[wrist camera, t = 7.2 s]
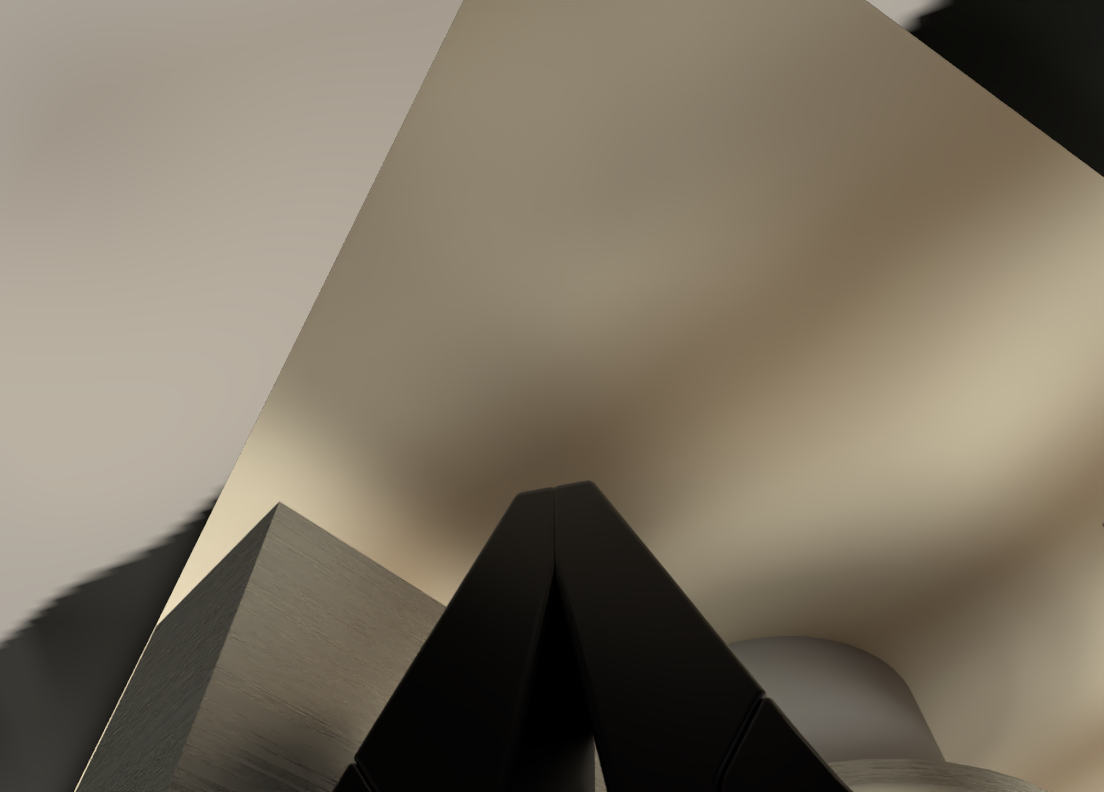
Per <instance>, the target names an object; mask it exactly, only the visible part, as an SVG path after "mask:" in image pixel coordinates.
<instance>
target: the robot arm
mask: <svg viewBox="0 0 1104 792" xmlns="http://www.w3.org/2000/svg"><path fill="white" fill-rule="evenodd" d="M595 745H596V749H597V753H598V758H599V762H600V766H601V770H602V774H603V778H604V782H605V786H606V790H607V792H853V791H852V790H851V789H850V788H849V787H848V786H847V785H846V784H845V783H844V782H843V781H842V780H841V778H840V777H839V776H838V775H837V774H836V773H835V772H834V770H833V769H832V768H831V767H830V766H829V765H828V764H827V762H826V761H825V760H824V759H823V758H822V757H821V756H820V755H819V753H818V752H817V751H816V750H815V749H814V748H813V747H812V745H811V744H810V743H809V742H808V741H807V740H806V739H805V737H804V736H803V735H802V734H801V733H800V732H799V731H798V729H797V728H796V727H795V726H794V725H793V723H792V722H791V721H790V720H789V718H788V717H787V716H786V715H785V714H784V712H783V711H782V710H781V709H780V707H779V706H778V705H777V704H776V703H775V701H774V700H773V699H772V698H770V697H767V694H766V691H765V690H764V689H763V687H762V686H761V685H760V684H759V683H758V681H757V680H756V679H755V678H754V676H753V675H752V674H751V673H750V672H749V670H748V669H747V668H746V667H745V665H744V664H743V663H742V662H741V661H740V659H739V658H738V657H737V656H736V654H735V653H734V652H733V651H732V650H731V648H730V647H729V646H728V645H727V643H726V642H725V641H724V640H723V639H722V637H721V636H720V635H719V634H718V632H717V631H716V630H715V629H714V628H713V626H712V625H711V624H710V623H709V622H708V620H707V619H706V618H705V617H704V615H703V614H702V613H701V612H700V611H699V609H698V608H697V607H696V606H695V604H694V603H693V602H692V601H691V600H690V598H689V597H688V596H687V595H686V593H685V592H684V591H683V590H682V589H681V587H680V586H679V585H678V584H677V582H676V581H675V580H674V579H673V578H672V576H671V575H670V574H669V573H668V571H667V570H666V569H665V568H664V567H663V565H662V564H661V563H660V562H659V560H658V559H657V558H656V557H655V556H654V554H653V553H652V552H651V551H650V550H649V548H648V547H647V546H646V545H645V543H644V542H643V541H642V540H641V539H640V537H639V536H638V535H637V534H636V532H635V531H634V530H633V529H632V528H631V526H630V525H629V524H628V523H627V521H626V520H625V519H624V518H623V517H622V515H621V514H620V513H619V512H618V510H617V509H616V508H615V507H614V506H613V504H612V503H611V502H610V501H609V499H608V498H607V497H606V496H605V495H604V493H603V492H602V491H601V490H600V488H599V487H598V486H597V485H596V484H595V483H594V482H593V481H590V480H585V481H579V482H574V483H568V484H563V485H558V486H556V487H555V488H554V487H546V488H540V489H535V490H529V491H524V492H520V493H518V494H517V495H516V496H515V497H514V498H513V500H512V502H511V503H510V505H509V506H508V508H507V510H506V511H505V513H504V514H503V516H502V518H501V519H500V521H499V522H498V524H497V526H496V527H495V529H494V531H493V532H492V534H491V535H490V537H489V539H488V540H487V542H486V543H485V545H484V547H483V548H482V550H481V552H480V553H479V555H478V556H477V558H476V560H475V561H474V563H473V564H472V566H471V568H470V569H469V571H468V573H467V574H466V576H465V577H464V579H463V581H462V582H461V584H460V585H459V587H458V589H457V590H456V592H455V594H454V595H453V597H452V598H451V600H450V602H449V603H448V605H447V606H446V608H445V610H444V611H443V613H442V615H441V616H440V618H439V619H438V621H437V623H436V624H435V626H434V627H433V629H432V631H431V632H430V634H429V636H428V637H427V639H426V640H425V642H424V644H423V645H422V647H421V648H420V650H419V652H418V653H417V655H416V657H415V658H414V660H413V661H412V663H411V665H410V666H409V668H408V669H407V671H406V673H405V674H404V676H403V678H402V679H401V681H400V682H399V684H398V686H397V687H396V689H395V690H394V692H393V694H392V695H391V697H390V699H389V700H388V702H387V703H386V705H385V707H384V708H383V710H382V711H381V713H380V715H379V716H378V718H377V719H376V721H375V723H374V724H373V726H372V728H371V729H370V731H369V732H368V734H367V736H366V737H365V739H364V740H363V742H362V744H361V745H360V747H359V749H358V750H357V752H356V753H355V755H354V761H355V763H356V764H355V763H350V764H349V765H348V766H347V767H346V769H345V770H344V772H343V774H342V775H341V777H340V779H339V780H338V782H337V783H336V785H335V787H334V788H333V790H332V791H331V792H595Z"/></svg>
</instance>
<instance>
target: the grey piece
mask: <svg viewBox="0 0 1104 792" xmlns="http://www.w3.org/2000/svg"><path fill="white" fill-rule="evenodd" d="M445 608H446V606H445V605H443V604H441V603H440V602H438V601H437V600H435V599H433V598H432V597H430V596H429V595H427V594H426V593H424V592H422V591H421V590H419V589H418V588H416V587H414V586H413V585H411V584H410V583H408V582H407V581H405V580H403V579H402V578H400V577H399V576H397V575H395V574H394V573H392V572H391V571H389V570H388V569H386V568H384V567H383V566H381V565H380V564H378V563H376V562H375V561H373V560H372V559H370V558H369V557H367V556H365V555H364V554H362V553H361V552H359V551H357V550H356V549H354V548H353V547H351V546H350V545H348V544H346V543H345V542H343V541H342V540H340V539H338V538H337V537H335V536H334V535H332V534H331V533H329V532H327V531H326V530H324V529H323V528H321V527H319V526H318V525H316V524H315V523H313V522H312V521H310V520H308V519H307V518H305V517H304V516H302V515H301V514H299V513H297V512H296V511H294V510H293V509H291V508H289V507H288V506H286V505H285V504H283V503H282V502H280V501H279V502H278V503H277V504H276V505H275V506H274V507H273V508H272V509H271V510H270V511H269V512H268V513H267V514H266V515H265V516H264V517H263V518H262V520H261V521H260V522H259V523H258V524H257V525H256V526H255V527H254V528H253V529H252V530H251V531H250V532H249V533H248V534H247V535H246V536H245V537H244V538H243V539H242V540H241V541H240V542H239V543H238V544H237V545H236V546H235V547H234V548H233V549H232V550H231V551H230V552H229V553H228V554H227V555H226V556H225V557H224V558H223V559H222V560H221V561H220V562H219V563H218V564H217V565H216V566H215V567H214V568H213V569H212V570H211V571H210V572H209V573H208V574H207V575H206V576H205V577H204V578H203V579H202V580H201V581H200V582H199V583H198V584H197V585H196V586H195V587H194V588H193V589H192V590H191V592H190V593H189V594H188V595H187V596H186V597H185V598H184V599H183V600H182V601H181V602H180V603H179V604H178V605H177V606H176V607H175V608H174V609H173V610H172V611H171V612H170V613H169V614H168V615H167V616H166V617H165V618H164V619H163V620H162V621H161V622H160V623H159V624H158V625H157V626H156V628H155V630H154V632H153V634H152V636H151V638H150V640H149V642H148V644H147V647H146V649H145V651H144V653H143V655H142V657H141V659H140V661H139V663H138V665H137V667H136V669H135V671H134V673H133V675H132V677H131V679H130V681H129V683H128V685H127V687H126V689H125V692H124V694H123V696H122V698H121V700H120V702H119V704H118V706H117V708H116V710H115V712H114V714H113V716H112V718H111V720H110V722H109V724H108V726H107V728H106V730H105V732H104V734H103V737H102V739H101V741H100V743H99V745H98V747H97V749H96V751H95V753H94V755H93V757H92V759H91V761H90V763H89V765H88V767H87V769H86V771H85V773H84V775H83V777H82V779H81V782H80V784H79V786H78V788H77V790H76V792H331V791H332V790H333V788H334V787H335V785H336V783H337V782H338V780H339V779H340V777H341V775H342V774H343V772H344V770H345V769H346V767H347V766H348V765H349V764H350V763H355V761H354V755H355V753H356V752H357V750H358V749H359V747H360V745H361V744H362V742H363V740H364V739H365V737H366V736H367V734H368V732H369V731H370V729H371V728H372V726H373V724H374V723H375V721H376V719H377V718H378V716H379V715H380V713H381V711H382V710H383V708H384V707H385V705H386V703H387V702H388V700H389V699H390V697H391V695H392V694H393V692H394V690H395V689H396V687H397V686H398V684H399V682H400V681H401V679H402V678H403V676H404V674H405V673H406V671H407V669H408V668H409V666H410V665H411V663H412V661H413V660H414V658H415V657H416V655H417V653H418V652H419V650H420V648H421V647H422V645H423V644H424V642H425V640H426V639H427V637H428V636H429V634H430V632H431V631H432V629H433V627H434V626H435V624H436V623H437V621H438V619H439V618H440V616H441V615H442V613H443V611H444V610H445ZM355 764H356V763H355ZM827 764H828V765H829V766H830V767H831V768H832V769H833V770H834V772H835V773H836V774H837V775H838V776H839V777H840V778H841V780H842V781H843V782H844V783H845V784H846V785H847V786H848V787H849V788H850V789H851V790H852V791H853V792H1049V791H1047V790H1045V789H1043V788H1040V787H1038V786H1036V785H1034V784H1032V783H1029V782H1027V781H1025V780H1022V779H1019V778H1016V777H1012V776H1009V775H1006V774H1003V773H999V772H996V771H993V770H989V769H984V768H978V767H973V766H967V765H962V764H957V763H951V762H939V761H928V760H916V759H861V760H850V761H838V762H827ZM595 792H607V790H606V786H605V782H604V778H603V774H602V770H601V766H600V762H599V758H598V753H597V749H596V745H595Z"/></svg>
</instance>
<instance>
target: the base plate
mask: <svg viewBox="0 0 1104 792" xmlns="http://www.w3.org/2000/svg"><path fill="white" fill-rule="evenodd" d="M585 480H590V481H593V482H594V483H595V484H596V485H597V486H598V487H599V488H600V490H601V491H602V492H603V493H604V495H605V496H606V497H607V498H608V499H609V501H610V502H611V503H612V504H613V506H614V507H615V508H616V509H617V510H618V512H619V513H620V514H621V515H622V517H623V518H624V519H625V520H626V521H627V523H628V524H629V525H630V526H631V528H632V529H633V530H634V531H635V532H636V534H637V535H638V536H639V537H640V539H641V540H642V541H643V542H644V543H645V545H646V546H647V547H648V548H649V550H650V551H651V552H652V553H653V554H654V556H655V557H656V558H657V559H658V560H659V562H660V563H661V564H662V565H663V567H664V568H665V569H666V570H667V571H668V573H669V574H670V575H671V576H672V578H673V579H674V580H675V581H676V582H677V584H678V585H679V586H680V587H681V589H682V590H683V591H684V592H685V593H686V595H687V596H688V597H689V598H690V600H691V601H692V602H693V603H694V604H695V606H696V607H697V608H698V609H699V611H700V612H701V613H702V614H703V615H704V617H705V618H706V619H707V620H708V622H709V623H710V624H711V625H712V626H713V628H714V629H715V630H716V631H717V632H718V634H719V635H720V636H721V637H722V639H723V640H724V641H725V642H726V643H727V645H728V646H729V647H730V648H731V650H732V651H733V652H734V653H735V654H736V656H737V657H738V658H739V659H740V661H741V662H742V663H743V664H744V665H745V667H746V668H747V669H748V670H749V672H750V673H751V674H752V675H753V676H754V678H755V679H756V680H757V681H758V683H759V684H760V685H761V686H762V687H763V689H764V690H765V691H766V694H767V697H770V698H772V699H773V700H774V701H775V703H776V704H777V705H778V706H779V707H780V709H781V710H782V711H783V712H784V714H785V715H786V716H787V717H788V718H789V720H790V721H791V722H792V723H793V725H794V726H795V727H796V728H797V729H798V731H799V732H800V733H801V734H802V735H803V736H804V737H805V739H806V740H807V741H808V742H809V743H810V744H811V745H812V747H813V748H814V749H815V750H816V751H817V752H818V753H819V755H820V756H821V757H822V758H823V759H824V760H825V761H826V762H838V761H850V760H861V759H916V760H928V761H939V762H951V763H957V764H962V765H967V766H973V767H978V768H984V769H989V770H993V771H996V772H999V773H1003V774H1006V775H1009V776H1012V777H1016V778H1019V779H1022V780H1025V781H1027V782H1029V783H1032V784H1034V785H1036V786H1038V787H1040V788H1043V789H1045V790H1047V791H1049V792H1104V177H1103V176H1101V175H1100V174H1099V173H1097V172H1096V171H1094V170H1093V169H1092V168H1090V167H1089V166H1088V165H1086V164H1085V163H1084V162H1082V161H1081V160H1080V159H1078V158H1077V157H1076V156H1074V155H1073V154H1072V153H1070V152H1069V151H1068V150H1066V149H1065V148H1064V147H1062V146H1061V145H1060V144H1058V143H1057V142H1056V141H1054V140H1053V139H1051V138H1050V137H1049V136H1047V135H1046V134H1045V133H1043V132H1042V131H1041V130H1039V129H1038V128H1037V127H1035V126H1034V125H1033V124H1031V123H1030V122H1029V121H1027V120H1026V119H1025V118H1023V117H1022V116H1021V115H1019V114H1018V113H1017V112H1015V111H1014V110H1013V109H1011V108H1010V107H1008V106H1007V105H1006V104H1004V103H1003V102H1002V101H1000V100H999V99H998V98H996V97H995V96H994V95H992V94H991V93H990V92H988V91H987V90H986V89H984V88H983V87H982V86H980V85H979V84H978V83H976V82H975V81H974V80H972V79H971V78H970V77H968V76H967V75H965V74H964V73H963V72H961V71H960V70H959V69H957V68H956V67H955V66H953V65H952V64H951V63H949V62H948V61H947V60H945V59H944V58H943V57H941V56H940V55H939V54H937V53H936V52H935V51H933V50H932V49H931V48H929V47H928V46H927V45H925V44H924V43H922V42H921V41H920V40H918V39H917V38H916V37H914V36H913V35H912V34H910V33H909V32H908V31H906V30H905V29H904V28H902V27H901V26H900V25H898V24H897V23H896V22H894V21H893V20H892V19H890V18H889V17H888V16H886V15H885V14H883V13H882V12H881V11H879V10H878V9H877V8H875V7H874V6H873V5H871V4H870V3H869V2H867V1H866V0H463V2H462V5H461V7H460V9H459V11H458V13H457V15H456V17H455V19H454V21H453V23H452V25H451V27H450V29H449V31H448V33H447V35H446V37H445V39H444V41H443V43H442V45H441V47H440V49H439V51H438V53H437V55H436V57H435V59H434V62H433V64H432V65H431V67H430V69H429V72H428V74H427V76H426V78H425V80H424V82H423V84H422V86H421V88H420V90H419V92H418V94H417V96H416V98H415V100H414V102H413V104H412V106H411V108H410V110H409V112H408V114H407V116H406V118H405V120H404V122H403V124H402V126H401V128H400V131H399V132H398V135H397V137H396V139H395V141H394V143H393V145H392V147H391V149H390V151H389V153H388V155H387V157H386V159H385V161H384V163H383V165H382V167H381V169H380V171H379V173H378V175H377V177H376V179H375V181H374V183H373V185H372V187H371V189H370V192H369V193H368V196H367V198H366V200H365V202H364V204H363V206H362V208H361V210H360V212H359V214H358V216H357V218H356V220H355V222H354V224H353V226H352V228H351V230H350V232H349V234H348V236H347V239H346V240H345V243H344V244H343V246H342V249H341V250H340V253H339V255H338V257H337V258H336V261H335V263H334V265H333V267H332V269H331V271H330V273H329V275H328V277H327V279H326V281H325V283H324V285H323V287H322V289H321V291H320V293H319V295H318V297H317V299H316V301H315V303H314V305H313V307H312V310H311V311H310V313H309V316H308V318H307V319H306V321H305V324H304V326H303V328H302V330H301V332H300V334H299V336H298V338H297V340H296V342H295V344H294V346H293V348H292V350H291V352H290V354H289V356H288V358H287V360H286V362H285V364H284V366H283V368H282V370H281V372H280V375H279V376H278V378H277V381H276V383H275V384H274V387H273V389H272V391H271V393H270V395H269V397H268V399H267V401H266V403H265V405H264V407H263V409H262V411H261V413H260V415H259V417H258V419H257V421H256V423H255V425H254V427H253V429H252V432H251V433H250V436H249V437H248V440H247V441H246V443H245V446H244V447H243V450H242V452H241V454H240V456H239V458H238V460H237V462H236V464H235V466H234V468H233V470H232V472H231V474H230V476H229V478H228V480H227V482H226V484H225V486H224V488H223V490H222V492H221V494H220V496H219V498H218V500H217V502H216V504H215V506H214V508H213V510H212V512H211V515H210V517H209V519H208V521H207V523H206V525H205V527H204V529H203V531H202V533H201V535H200V537H199V539H198V541H197V543H196V545H195V547H194V549H193V551H192V553H191V555H190V557H189V559H188V561H187V563H186V565H185V567H184V569H183V571H182V573H181V575H180V578H179V580H178V582H177V584H176V586H175V588H174V590H173V592H172V594H171V596H170V598H169V600H168V602H167V604H166V606H165V608H164V610H163V612H162V614H161V616H160V618H159V620H158V622H157V624H156V626H157V625H158V624H159V623H160V622H161V621H162V620H163V619H164V618H165V617H166V616H167V615H168V614H169V613H170V612H171V611H172V610H173V609H174V608H175V607H176V606H177V605H178V604H179V603H180V602H181V601H182V600H183V599H184V598H185V597H186V596H187V595H188V594H189V593H190V592H191V590H192V589H193V588H194V587H195V586H196V585H197V584H198V583H199V582H200V581H201V580H202V579H203V578H204V577H205V576H206V575H207V574H208V573H209V572H210V571H211V570H212V569H213V568H214V567H215V566H216V565H217V564H218V563H219V562H220V561H221V560H222V559H223V558H224V557H225V556H226V555H227V554H228V553H229V552H230V551H231V550H232V549H233V548H234V547H235V546H236V545H237V544H238V543H239V542H240V541H241V540H242V539H243V538H244V537H245V536H246V535H247V534H248V533H249V532H250V531H251V530H252V529H253V528H254V527H255V526H256V525H257V524H258V523H259V522H260V521H261V520H262V518H263V517H264V516H265V515H266V514H267V513H268V512H269V511H270V510H271V509H272V508H273V507H274V506H275V505H276V504H277V503H278V502H279V501H280V502H282V503H283V504H285V505H286V506H288V507H289V508H291V509H293V510H294V511H296V512H297V513H299V514H301V515H302V516H304V517H305V518H307V519H308V520H310V521H312V522H313V523H315V524H316V525H318V526H319V527H321V528H323V529H324V530H326V531H327V532H329V533H331V534H332V535H334V536H335V537H337V538H338V539H340V540H342V541H343V542H345V543H346V544H348V545H350V546H351V547H353V548H354V549H356V550H357V551H359V552H361V553H362V554H364V555H365V556H367V557H369V558H370V559H372V560H373V561H375V562H376V563H378V564H380V565H381V566H383V567H384V568H386V569H388V570H389V571H391V572H392V573H394V574H395V575H397V576H399V577H400V578H402V579H403V580H405V581H407V582H408V583H410V584H411V585H413V586H414V587H416V588H418V589H419V590H421V591H422V592H424V593H426V594H427V595H429V596H430V597H432V598H433V599H435V600H437V601H438V602H440V603H441V604H443V605H445V606H447V605H448V603H449V602H450V600H451V598H452V597H453V595H454V594H455V592H456V590H457V589H458V587H459V585H460V584H461V582H462V581H463V579H464V577H465V576H466V574H467V573H468V571H469V569H470V568H471V566H472V564H473V563H474V561H475V560H476V558H477V556H478V555H479V553H480V552H481V550H482V548H483V547H484V545H485V543H486V542H487V540H488V539H489V537H490V535H491V534H492V532H493V531H494V529H495V527H496V526H497V524H498V522H499V521H500V519H501V518H502V516H503V514H504V513H505V511H506V510H507V508H508V506H509V505H510V503H511V502H512V500H513V498H514V497H515V496H516V495H517V494H518V493H520V492H524V491H529V490H535V489H540V488H546V487H554V488H555V487H556V486H558V485H563V484H568V483H574V482H579V481H585ZM156 626H155V628H156ZM155 628H154V630H155ZM154 630H153V632H154ZM153 632H152V634H153ZM152 634H151V636H152ZM151 636H150V638H151ZM150 638H149V640H150ZM148 642H149V641H148ZM147 644H148V643H147ZM146 647H147V645H146ZM146 647H145V649H146ZM145 649H144V651H145ZM144 651H143V653H144ZM143 653H142V655H143ZM142 655H141V657H142ZM141 657H140V659H141ZM140 659H139V661H140ZM139 661H138V663H139ZM138 663H137V665H138ZM137 665H136V667H137ZM136 667H135V669H136ZM135 669H134V671H135ZM134 671H133V673H134ZM133 673H132V675H133ZM132 675H131V677H132ZM131 677H130V679H131ZM130 679H129V681H130ZM129 681H128V683H129ZM128 683H127V685H128ZM127 685H126V687H127ZM126 687H125V689H126ZM125 689H124V691H123V693H122V695H121V697H120V699H119V701H118V704H119V702H120V700H121V698H122V696H123V694H124V692H125ZM118 704H117V706H118ZM117 706H116V708H117ZM116 708H115V710H116ZM115 710H114V712H115ZM114 712H113V714H114ZM113 714H112V716H113ZM112 716H111V718H112ZM111 718H110V720H111ZM110 720H109V722H110ZM109 722H108V724H109ZM108 724H107V726H108ZM107 726H106V728H107ZM106 728H105V730H106ZM105 730H104V732H105ZM104 732H103V734H104ZM103 734H102V736H101V738H100V740H99V742H98V744H97V746H96V748H95V750H94V752H93V754H92V756H91V758H90V760H89V762H88V764H87V767H88V765H89V763H90V761H91V759H92V757H93V755H94V753H95V751H96V749H97V747H98V745H99V743H100V741H101V739H102V737H103ZM87 767H86V769H87ZM86 769H85V771H86ZM85 771H84V773H85ZM84 773H83V775H84ZM83 775H82V777H83ZM82 777H81V779H82ZM81 779H80V781H79V783H78V785H77V787H76V789H75V791H74V792H76V790H77V788H78V786H79V784H80V782H81Z"/></svg>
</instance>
